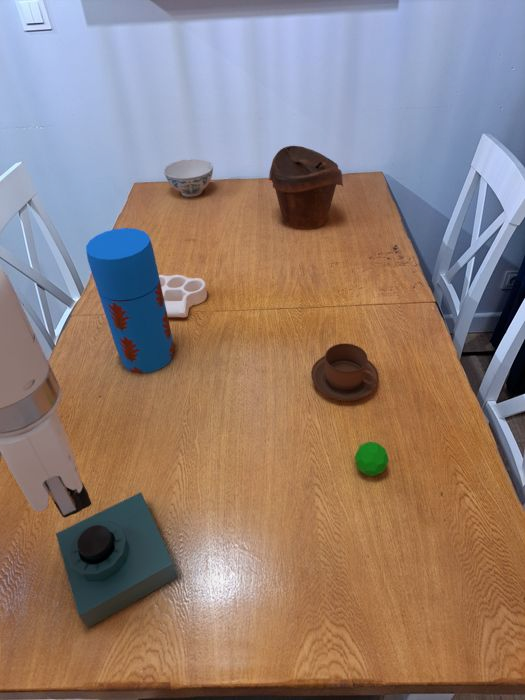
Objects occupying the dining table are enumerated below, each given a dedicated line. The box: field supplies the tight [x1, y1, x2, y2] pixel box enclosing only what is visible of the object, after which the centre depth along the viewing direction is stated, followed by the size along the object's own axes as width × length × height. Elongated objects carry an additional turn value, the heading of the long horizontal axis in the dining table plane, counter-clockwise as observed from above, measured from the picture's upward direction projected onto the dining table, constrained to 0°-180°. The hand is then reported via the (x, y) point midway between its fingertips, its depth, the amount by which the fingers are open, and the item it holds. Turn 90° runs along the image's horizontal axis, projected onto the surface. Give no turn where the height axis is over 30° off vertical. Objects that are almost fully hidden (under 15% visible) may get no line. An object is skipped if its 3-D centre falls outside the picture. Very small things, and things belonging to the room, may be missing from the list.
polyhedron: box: [354, 441, 390, 477], centre depth 74 cm, size 5×5×5 cm
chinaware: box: [163, 158, 214, 198], centre depth 152 cm, size 15×15×8 cm
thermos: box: [85, 227, 175, 374], centre depth 89 cm, size 11×11×25 cm
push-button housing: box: [55, 491, 179, 629], centre depth 64 cm, size 12×12×6 cm
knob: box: [77, 525, 114, 563], centre depth 61 cm, size 4×4×2 cm
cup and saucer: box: [310, 343, 380, 402], centre depth 87 cm, size 12×12×6 cm
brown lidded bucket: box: [268, 145, 344, 230], centre depth 132 cm, size 18×20×18 cm
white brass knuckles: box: [159, 274, 208, 318], centre depth 110 cm, size 3×18×15 cm
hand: (76, 505), depth 55 cm, fingers closed
